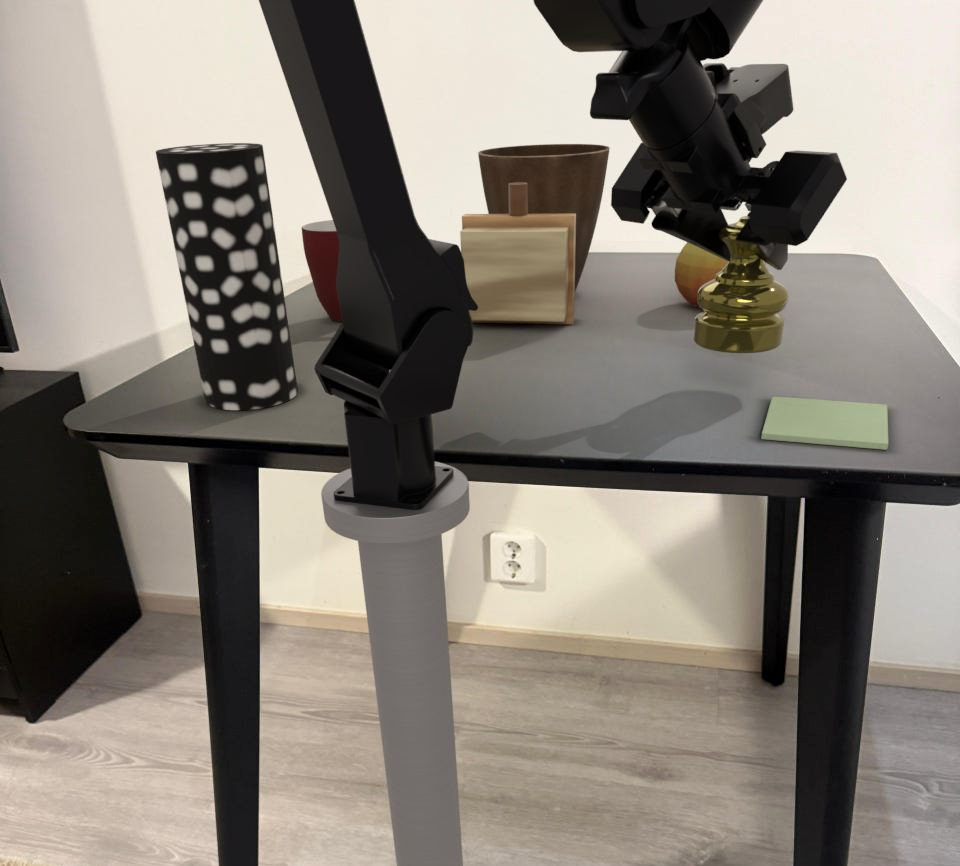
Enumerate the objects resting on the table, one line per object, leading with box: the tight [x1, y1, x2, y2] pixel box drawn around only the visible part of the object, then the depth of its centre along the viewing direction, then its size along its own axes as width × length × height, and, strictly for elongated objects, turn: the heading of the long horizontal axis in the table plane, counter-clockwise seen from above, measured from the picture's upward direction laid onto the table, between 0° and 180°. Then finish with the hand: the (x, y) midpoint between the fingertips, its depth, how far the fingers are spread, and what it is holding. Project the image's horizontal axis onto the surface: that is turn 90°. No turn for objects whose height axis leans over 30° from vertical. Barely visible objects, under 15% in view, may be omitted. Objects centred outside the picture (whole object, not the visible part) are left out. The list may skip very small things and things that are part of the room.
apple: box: [674, 242, 767, 309], centre depth 104 cm, size 10×10×8 cm
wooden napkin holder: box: [459, 182, 576, 325], centre depth 98 cm, size 5×12×14 cm, turn 77°
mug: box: [301, 219, 343, 323], centre depth 104 cm, size 11×8×10 cm
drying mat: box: [760, 396, 889, 451], centre depth 73 cm, size 9×9×1 cm
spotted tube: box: [155, 142, 299, 411], centre depth 79 cm, size 8×8×20 cm
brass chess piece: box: [693, 215, 790, 354], centre depth 77 cm, size 7×7×10 cm
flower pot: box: [477, 143, 611, 292], centre depth 109 cm, size 15×15×16 cm
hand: (758, 260), depth 77 cm, fingers closed on brass chess piece, 5 cm apart
